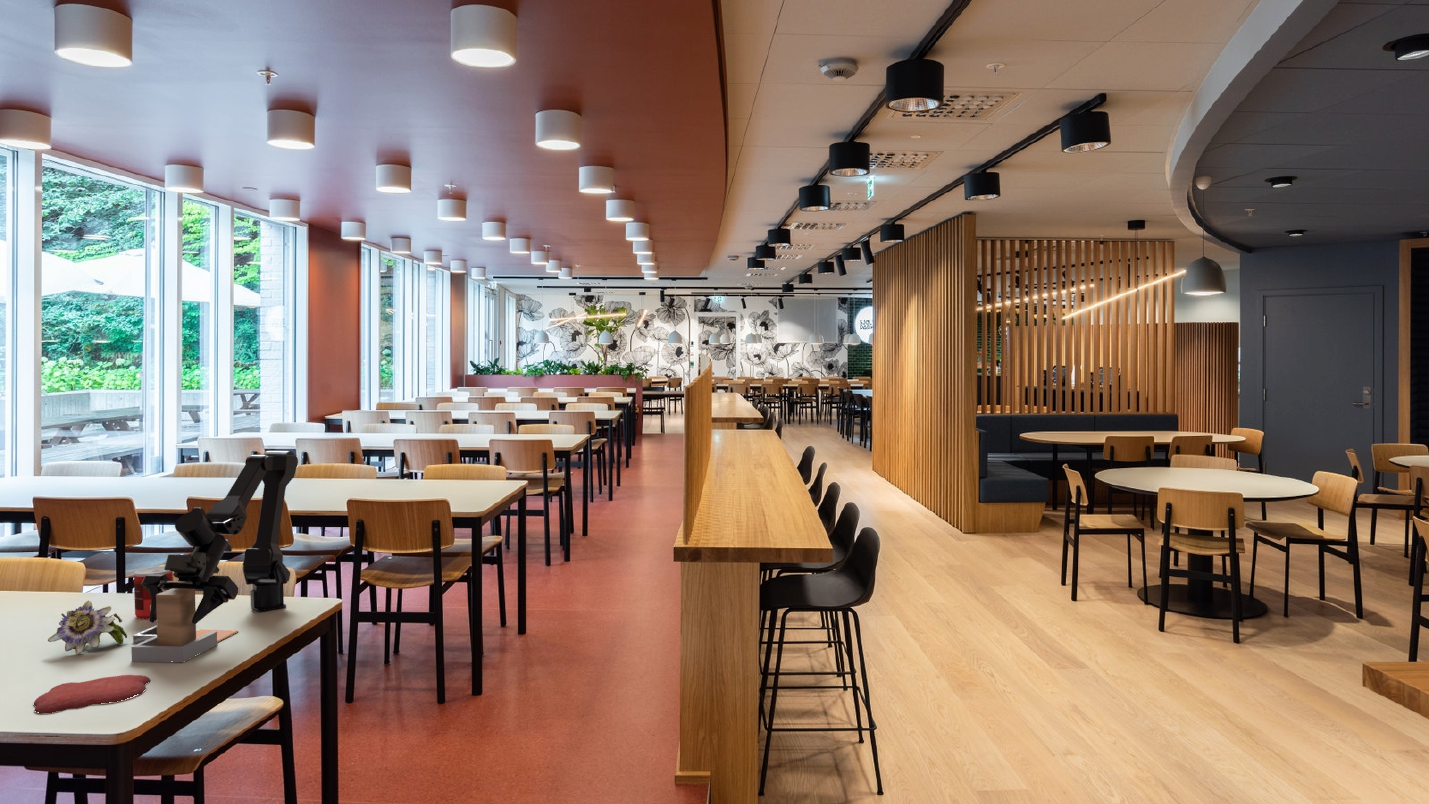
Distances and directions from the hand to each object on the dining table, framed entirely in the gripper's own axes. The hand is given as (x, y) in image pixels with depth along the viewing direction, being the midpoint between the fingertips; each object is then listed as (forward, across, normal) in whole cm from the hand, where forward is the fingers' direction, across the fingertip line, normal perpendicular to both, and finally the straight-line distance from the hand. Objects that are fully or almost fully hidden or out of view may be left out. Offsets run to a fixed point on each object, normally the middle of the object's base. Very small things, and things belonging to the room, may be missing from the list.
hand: (172, 622), depth 183 cm
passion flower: (+3, -21, +7) cm, 22 cm away
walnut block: (+4, 0, +6) cm, 7 cm away
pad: (-3, 0, +12) cm, 13 cm away
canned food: (-14, -24, +24) cm, 36 cm away
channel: (+4, 0, +6) cm, 7 cm away
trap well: (-3, -10, +12) cm, 16 cm away
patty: (+21, 0, -10) cm, 23 cm away
